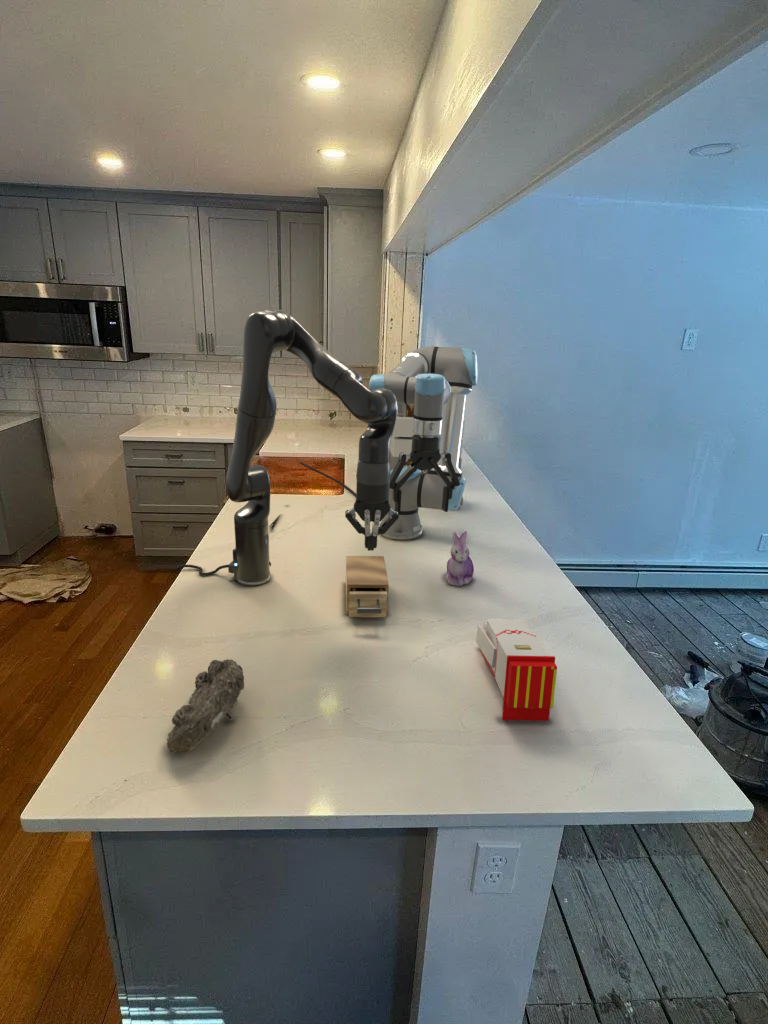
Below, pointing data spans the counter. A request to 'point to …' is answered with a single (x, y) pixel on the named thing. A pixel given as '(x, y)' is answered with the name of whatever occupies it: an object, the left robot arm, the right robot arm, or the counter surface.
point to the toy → (519, 668)
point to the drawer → (367, 602)
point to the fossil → (206, 705)
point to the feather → (275, 522)
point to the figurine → (459, 562)
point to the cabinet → (365, 574)
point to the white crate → (406, 435)
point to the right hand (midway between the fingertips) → (421, 511)
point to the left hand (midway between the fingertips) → (370, 549)
